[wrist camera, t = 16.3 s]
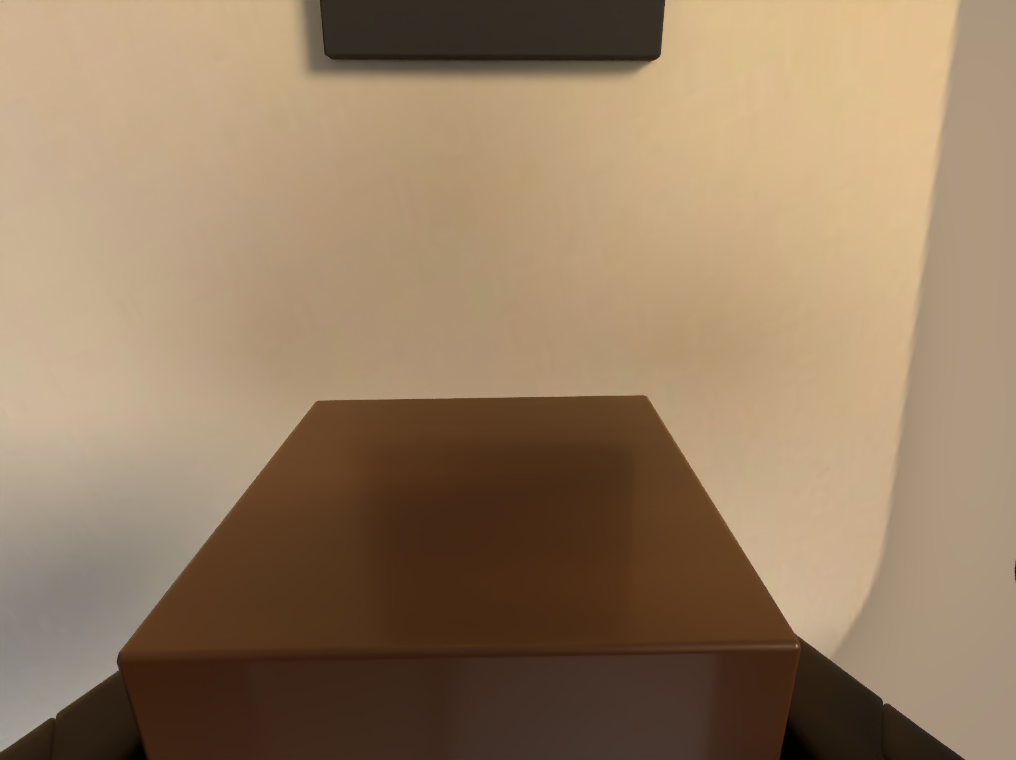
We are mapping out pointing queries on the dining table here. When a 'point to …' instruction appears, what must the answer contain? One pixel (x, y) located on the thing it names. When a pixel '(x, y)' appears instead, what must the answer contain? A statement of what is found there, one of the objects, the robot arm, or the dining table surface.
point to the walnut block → (467, 598)
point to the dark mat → (493, 29)
